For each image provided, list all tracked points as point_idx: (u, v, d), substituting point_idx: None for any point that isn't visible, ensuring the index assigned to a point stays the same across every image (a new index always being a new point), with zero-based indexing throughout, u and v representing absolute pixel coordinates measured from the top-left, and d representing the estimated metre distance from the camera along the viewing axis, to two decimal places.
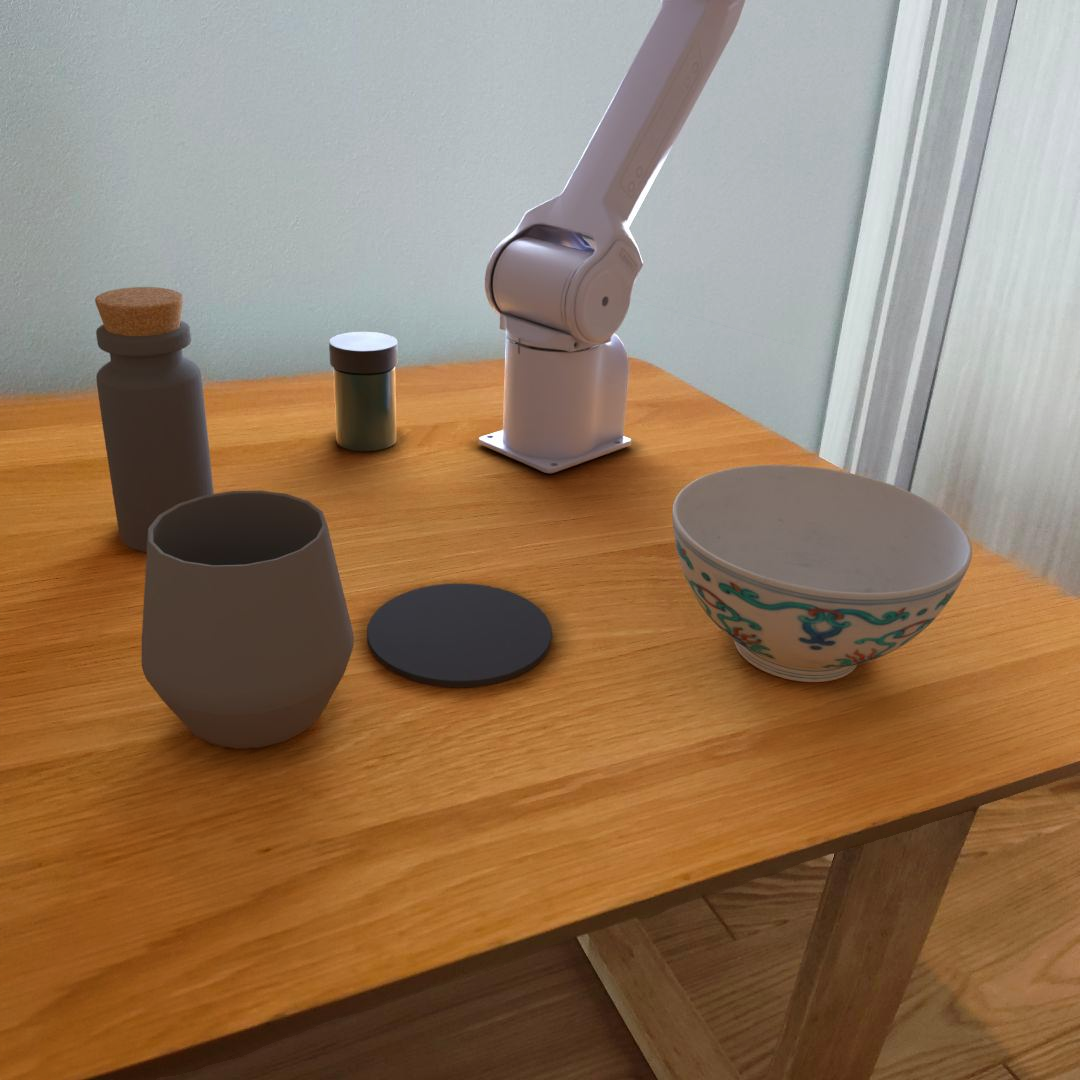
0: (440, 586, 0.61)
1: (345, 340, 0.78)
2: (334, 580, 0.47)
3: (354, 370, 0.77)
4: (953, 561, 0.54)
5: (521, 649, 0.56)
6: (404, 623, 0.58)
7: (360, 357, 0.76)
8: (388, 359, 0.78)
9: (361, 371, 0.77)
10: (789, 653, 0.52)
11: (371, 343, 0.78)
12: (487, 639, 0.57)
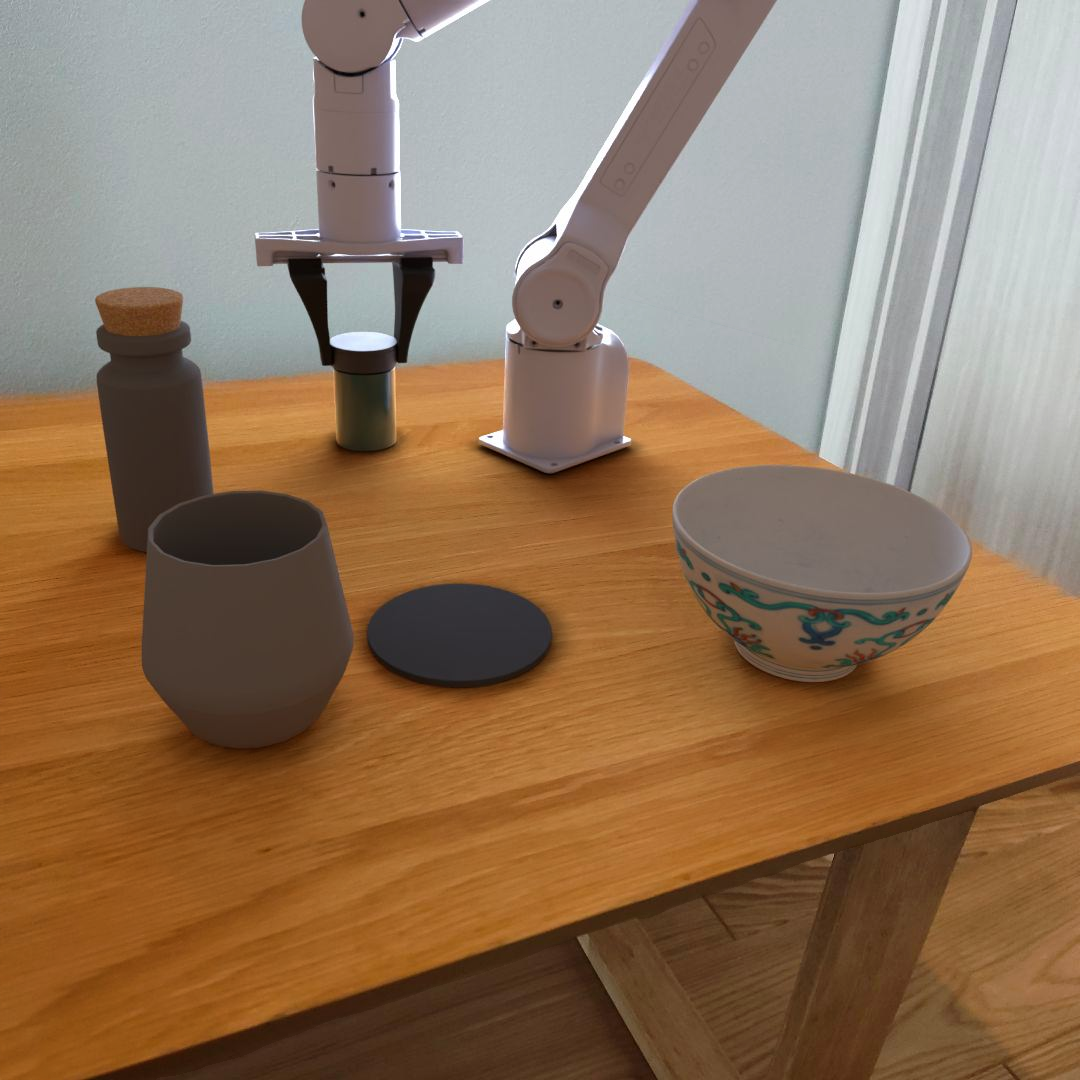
0: (440, 586, 0.61)
1: (345, 340, 0.78)
2: (334, 580, 0.47)
3: (354, 370, 0.77)
4: (953, 561, 0.54)
5: (521, 649, 0.56)
6: (404, 623, 0.58)
7: (360, 357, 0.76)
8: (388, 359, 0.78)
9: (361, 371, 0.77)
10: (789, 653, 0.52)
11: (371, 343, 0.78)
12: (487, 639, 0.57)
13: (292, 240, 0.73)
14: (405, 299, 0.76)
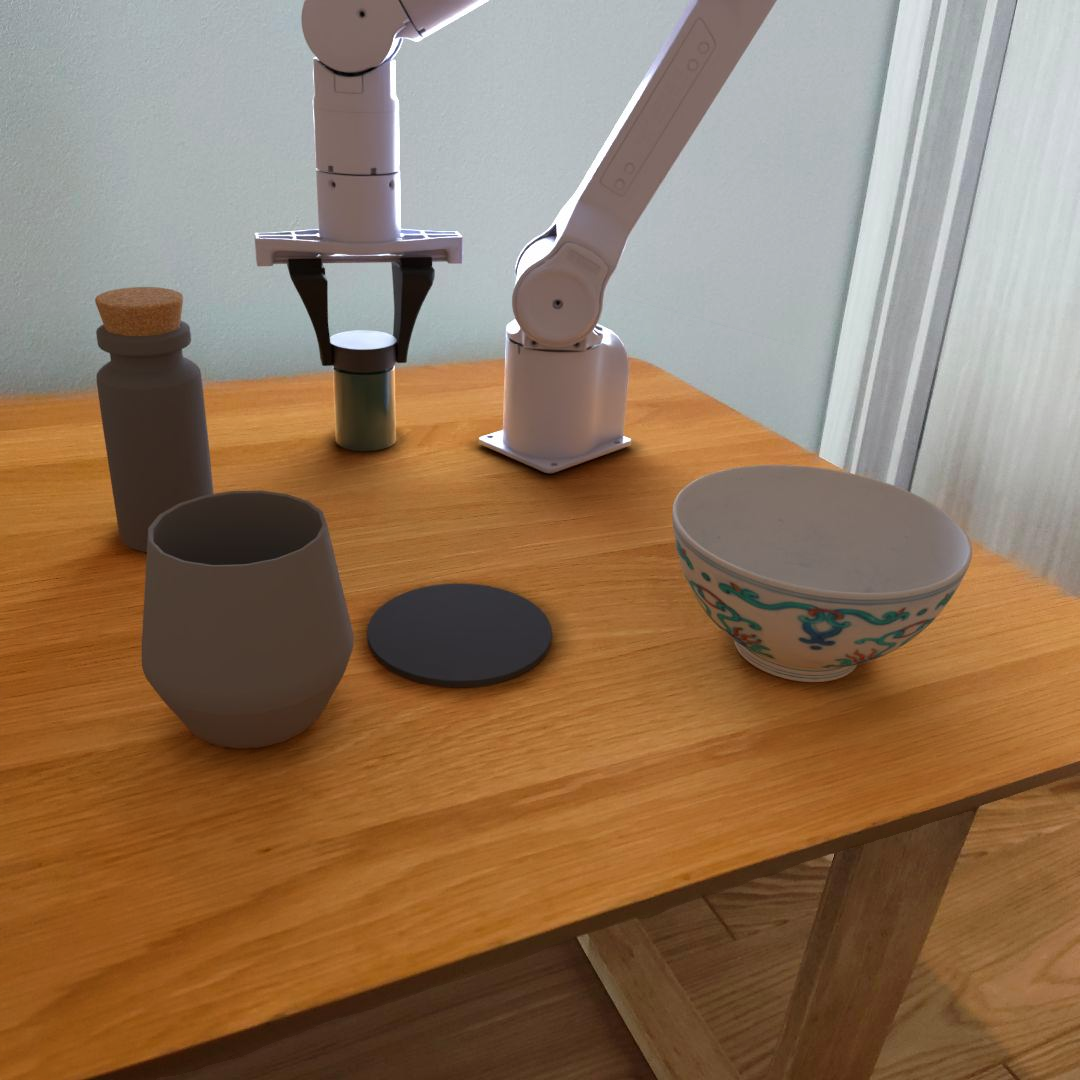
0: (440, 586, 0.61)
1: (358, 344, 0.77)
2: (334, 580, 0.47)
3: (393, 363, 0.79)
4: (953, 561, 0.54)
5: (521, 649, 0.56)
6: (404, 623, 0.58)
7: (396, 348, 0.79)
8: None
9: (396, 361, 0.79)
10: (789, 653, 0.52)
11: (372, 337, 0.79)
12: (487, 639, 0.57)
13: (292, 240, 0.73)
14: (404, 298, 0.76)
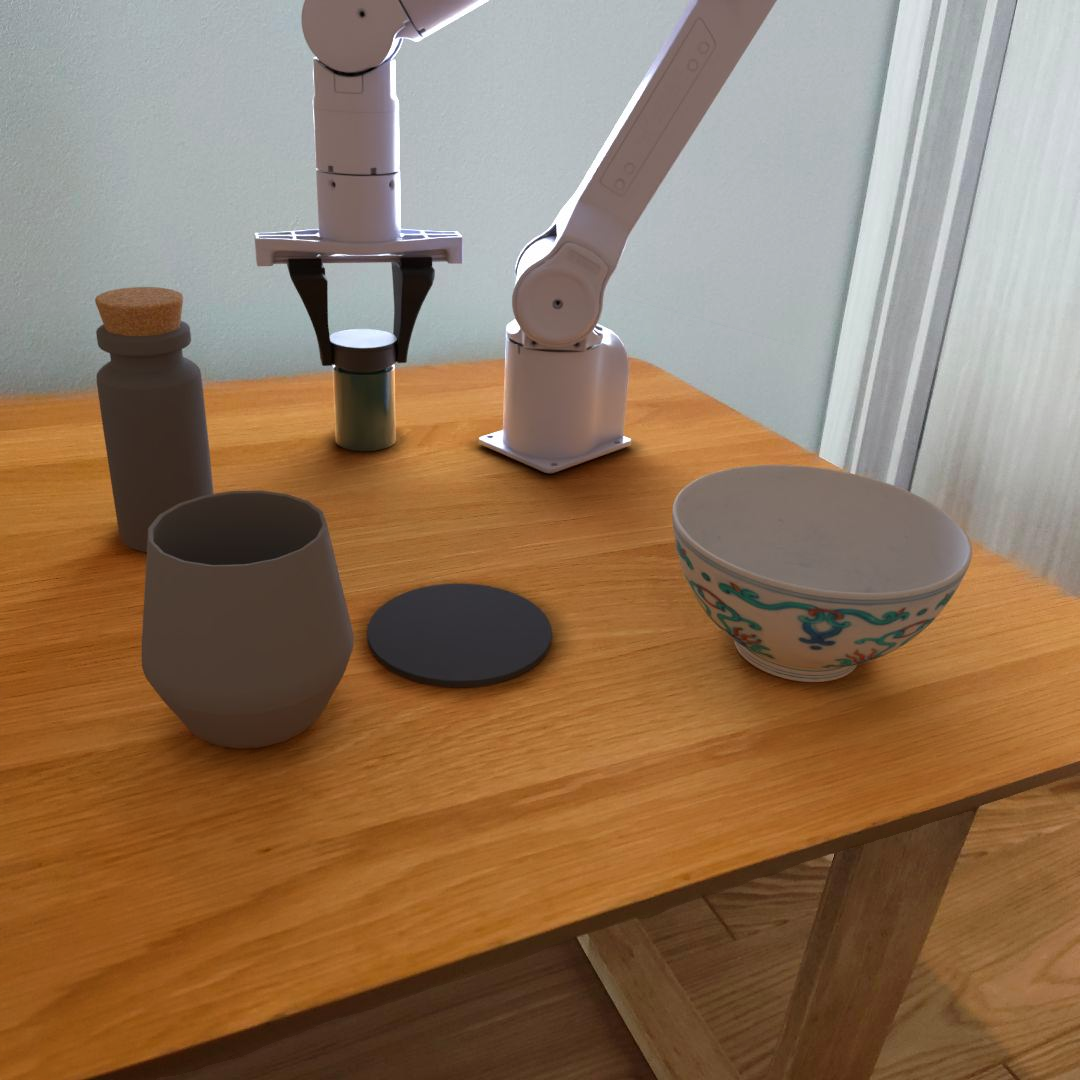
0: (440, 586, 0.61)
1: (379, 340, 0.78)
2: (334, 580, 0.47)
3: None
4: (953, 561, 0.54)
5: (521, 649, 0.56)
6: (404, 623, 0.58)
7: None
8: None
9: None
10: (789, 653, 0.52)
11: (357, 335, 0.79)
12: (487, 639, 0.57)
13: (292, 240, 0.73)
14: (404, 298, 0.76)
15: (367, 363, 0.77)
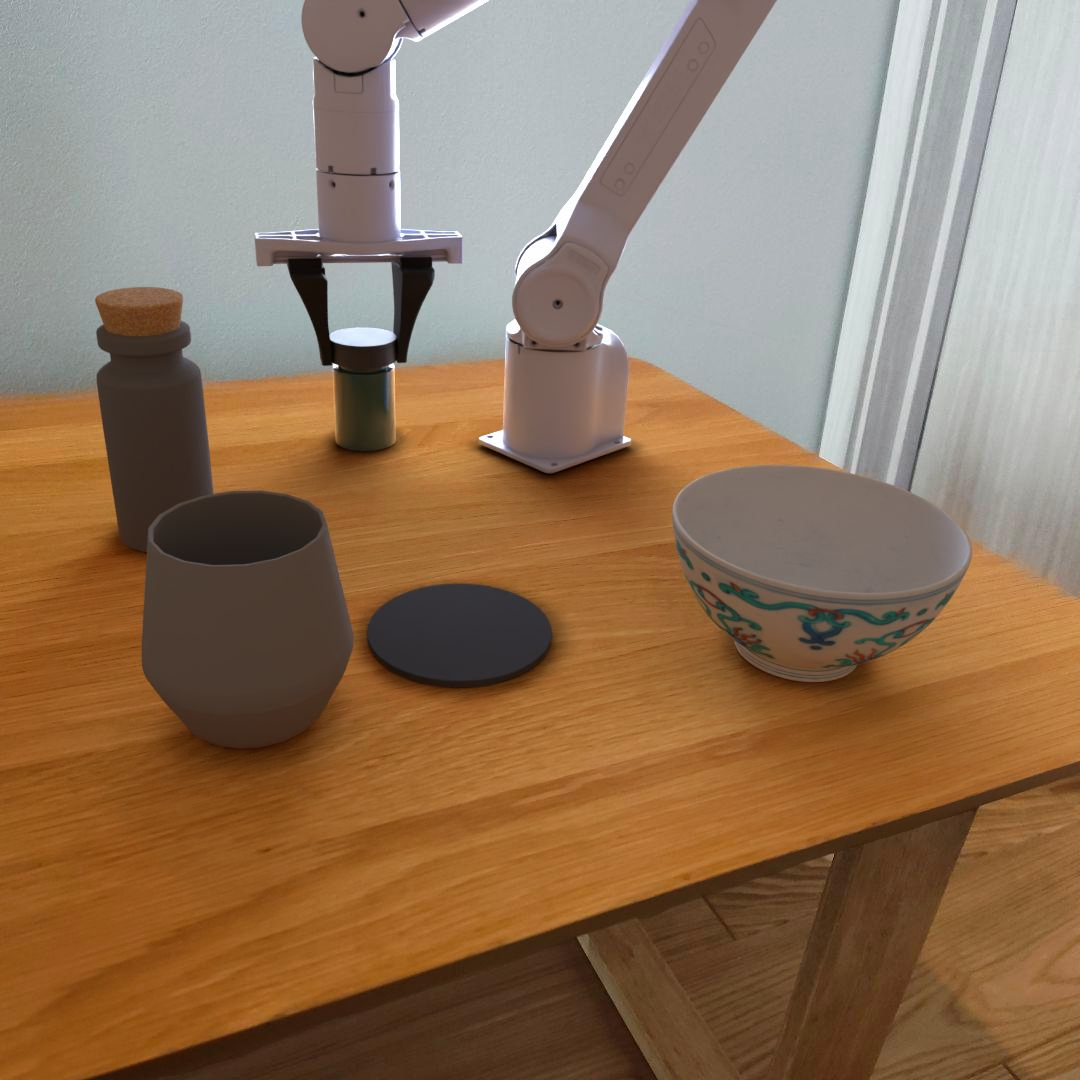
0: (440, 586, 0.61)
1: (370, 332, 0.79)
2: (334, 580, 0.47)
3: None
4: (953, 561, 0.54)
5: (521, 649, 0.56)
6: (404, 623, 0.58)
7: None
8: (332, 352, 0.77)
9: None
10: (789, 653, 0.52)
11: (351, 337, 0.78)
12: (487, 639, 0.57)
13: (292, 240, 0.73)
14: (404, 298, 0.76)
15: None
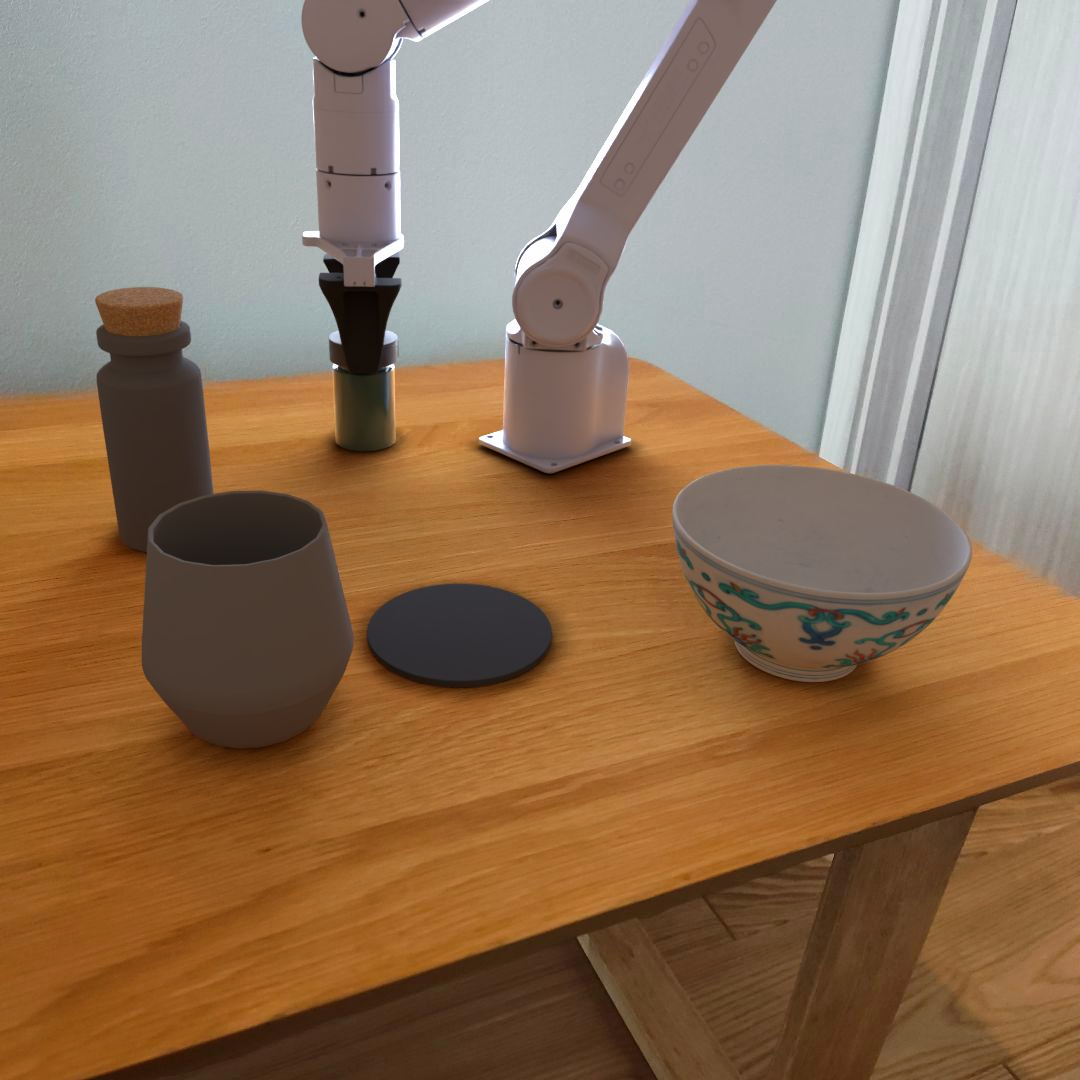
0: (440, 586, 0.61)
1: None
2: (334, 580, 0.47)
3: (339, 363, 0.77)
4: (953, 561, 0.54)
5: (521, 649, 0.56)
6: (404, 623, 0.58)
7: None
8: None
9: (344, 365, 0.77)
10: (789, 653, 0.52)
11: None
12: (487, 639, 0.57)
13: (381, 250, 0.71)
14: None
15: None
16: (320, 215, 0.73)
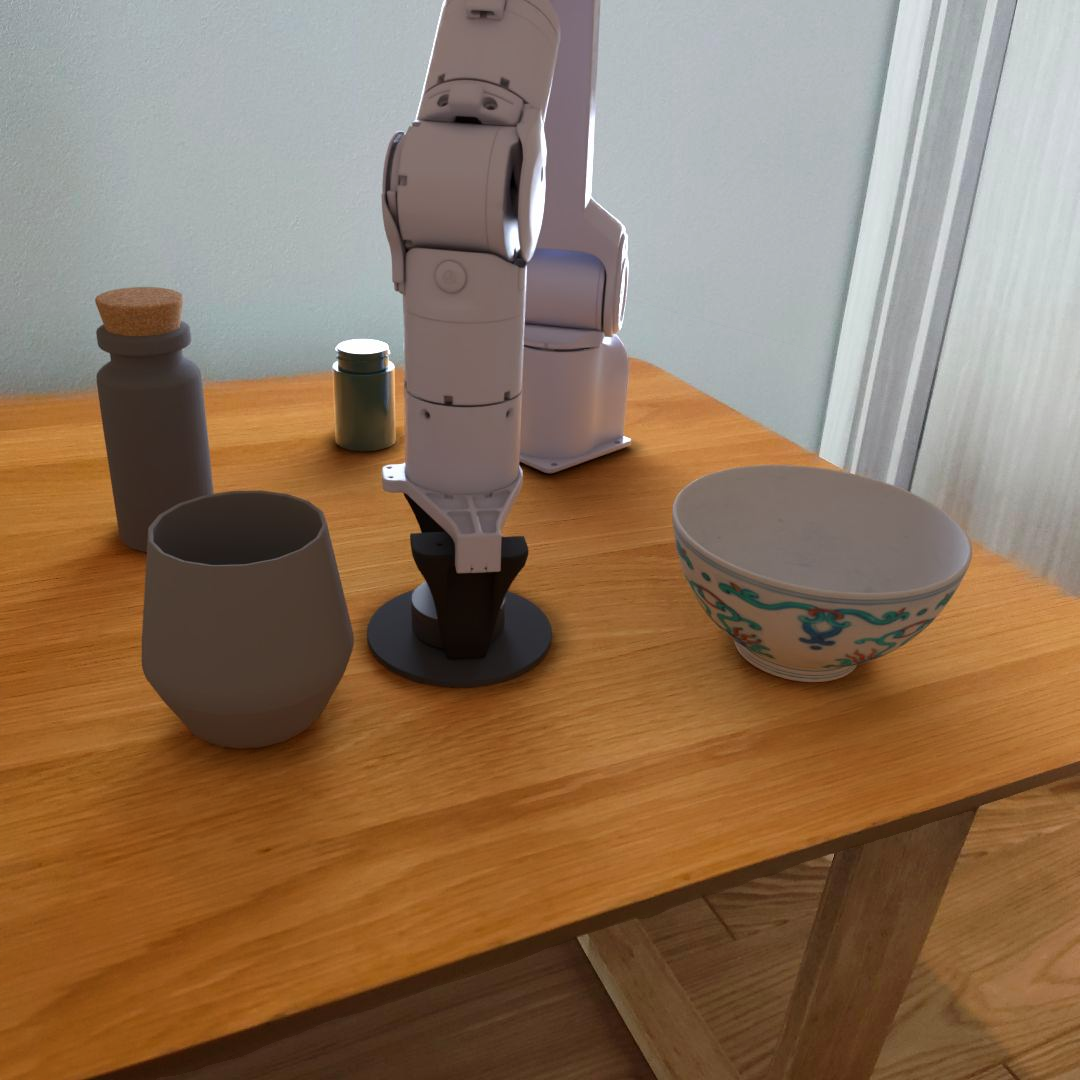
0: None
1: None
2: (334, 580, 0.47)
3: (428, 640, 0.55)
4: (953, 561, 0.54)
5: (521, 649, 0.56)
6: (404, 623, 0.58)
7: (436, 626, 0.55)
8: None
9: (436, 644, 0.55)
10: (789, 653, 0.52)
11: None
12: None
13: (504, 511, 0.49)
14: None
15: None
16: (410, 452, 0.51)
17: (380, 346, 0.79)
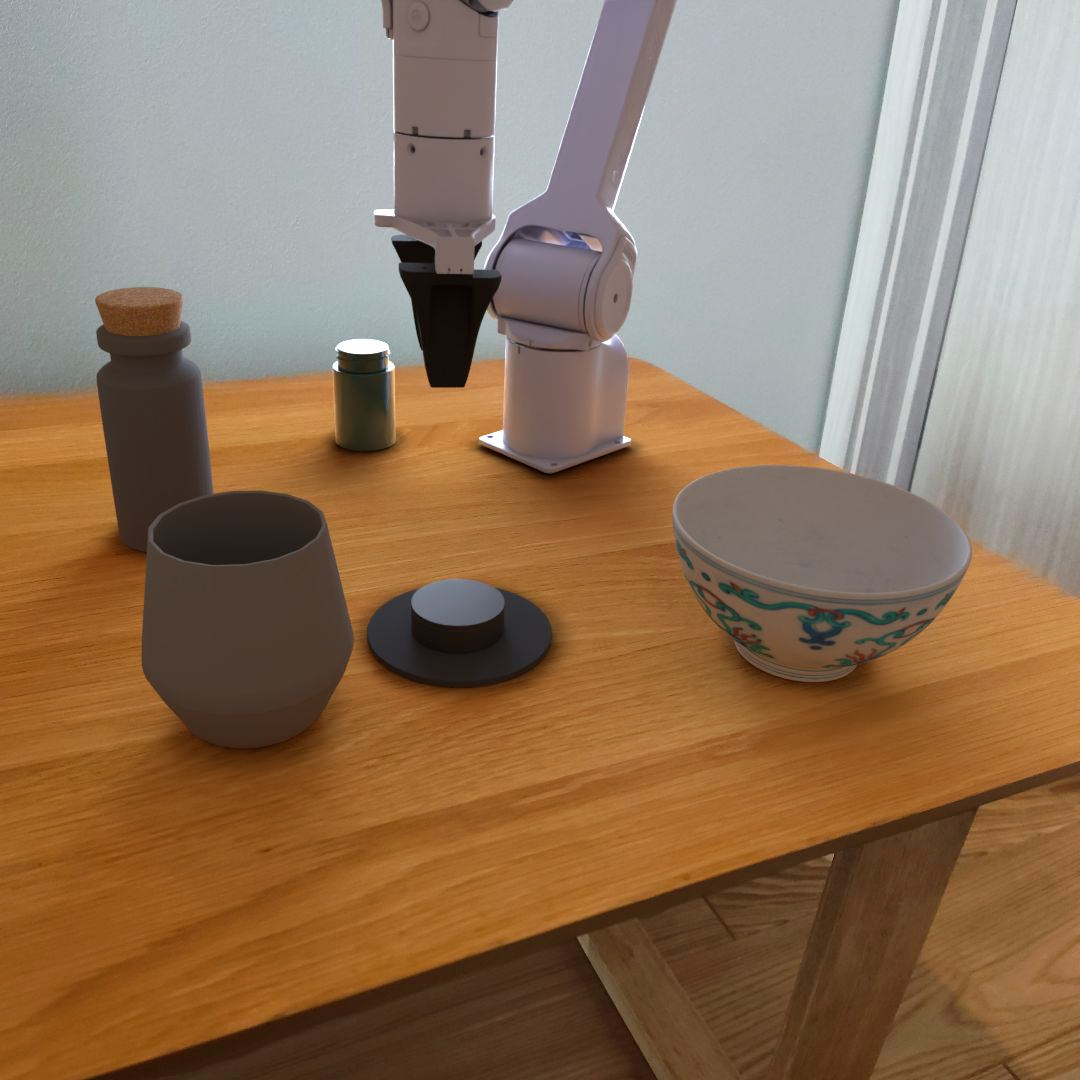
0: None
1: (436, 595, 0.57)
2: (334, 580, 0.47)
3: (427, 644, 0.56)
4: (953, 561, 0.54)
5: (521, 649, 0.56)
6: (404, 623, 0.58)
7: (435, 630, 0.55)
8: (477, 638, 0.55)
9: (436, 648, 0.55)
10: (789, 653, 0.52)
11: (463, 609, 0.56)
12: None
13: (477, 230, 0.58)
14: None
15: None
16: (398, 189, 0.60)
17: (380, 346, 0.79)
